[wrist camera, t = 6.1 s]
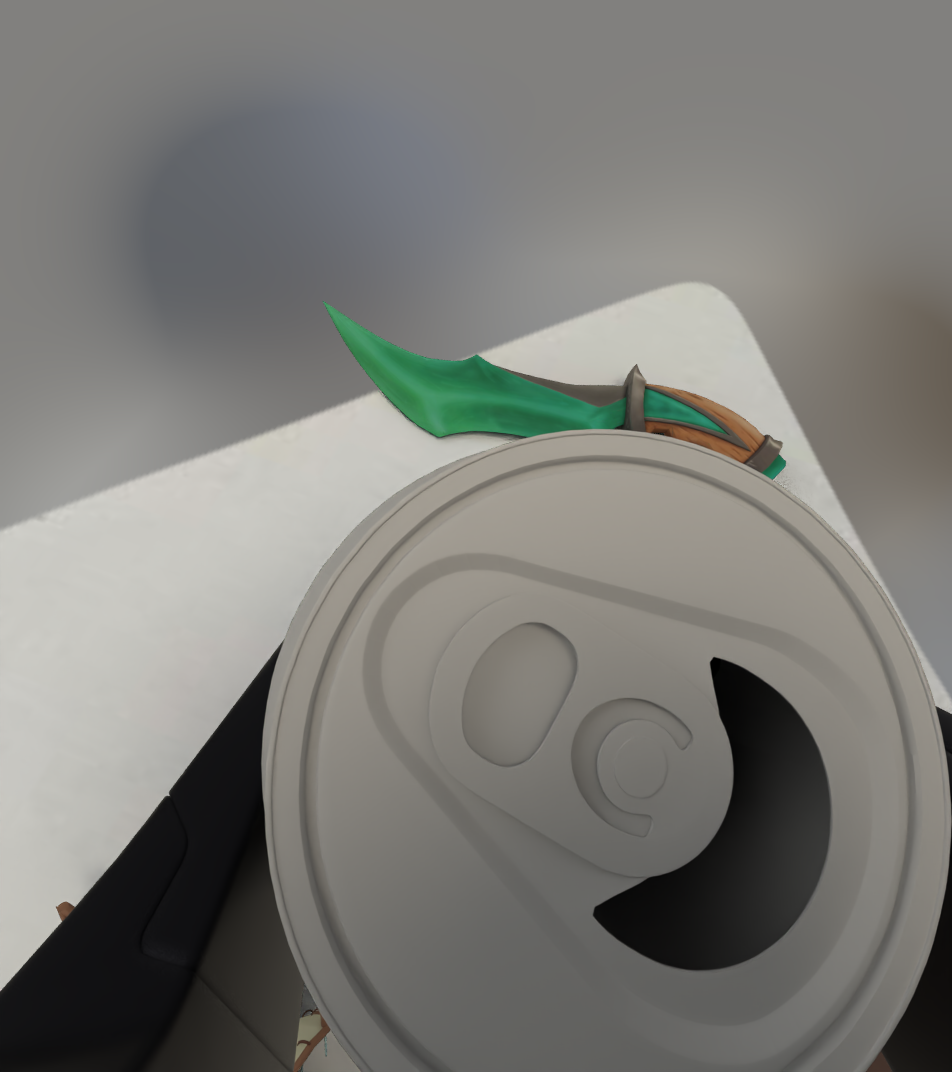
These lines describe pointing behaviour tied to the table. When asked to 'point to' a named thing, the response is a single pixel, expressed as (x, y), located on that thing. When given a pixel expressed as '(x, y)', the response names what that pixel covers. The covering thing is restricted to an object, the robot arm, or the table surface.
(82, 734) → the table surface
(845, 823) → the beverage can
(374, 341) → the knife
